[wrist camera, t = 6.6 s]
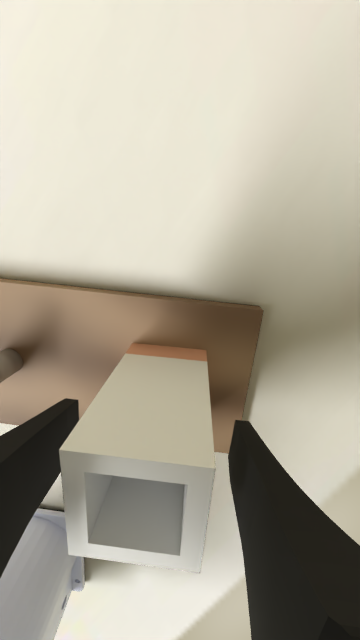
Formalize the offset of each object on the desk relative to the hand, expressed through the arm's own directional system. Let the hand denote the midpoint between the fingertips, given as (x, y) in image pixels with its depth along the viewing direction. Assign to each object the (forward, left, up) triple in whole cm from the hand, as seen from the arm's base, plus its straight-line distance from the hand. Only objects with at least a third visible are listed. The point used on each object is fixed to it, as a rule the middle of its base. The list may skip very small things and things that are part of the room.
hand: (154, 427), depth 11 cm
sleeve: (0, 0, -4) cm, 4 cm away
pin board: (0, +5, -5) cm, 7 cm away
